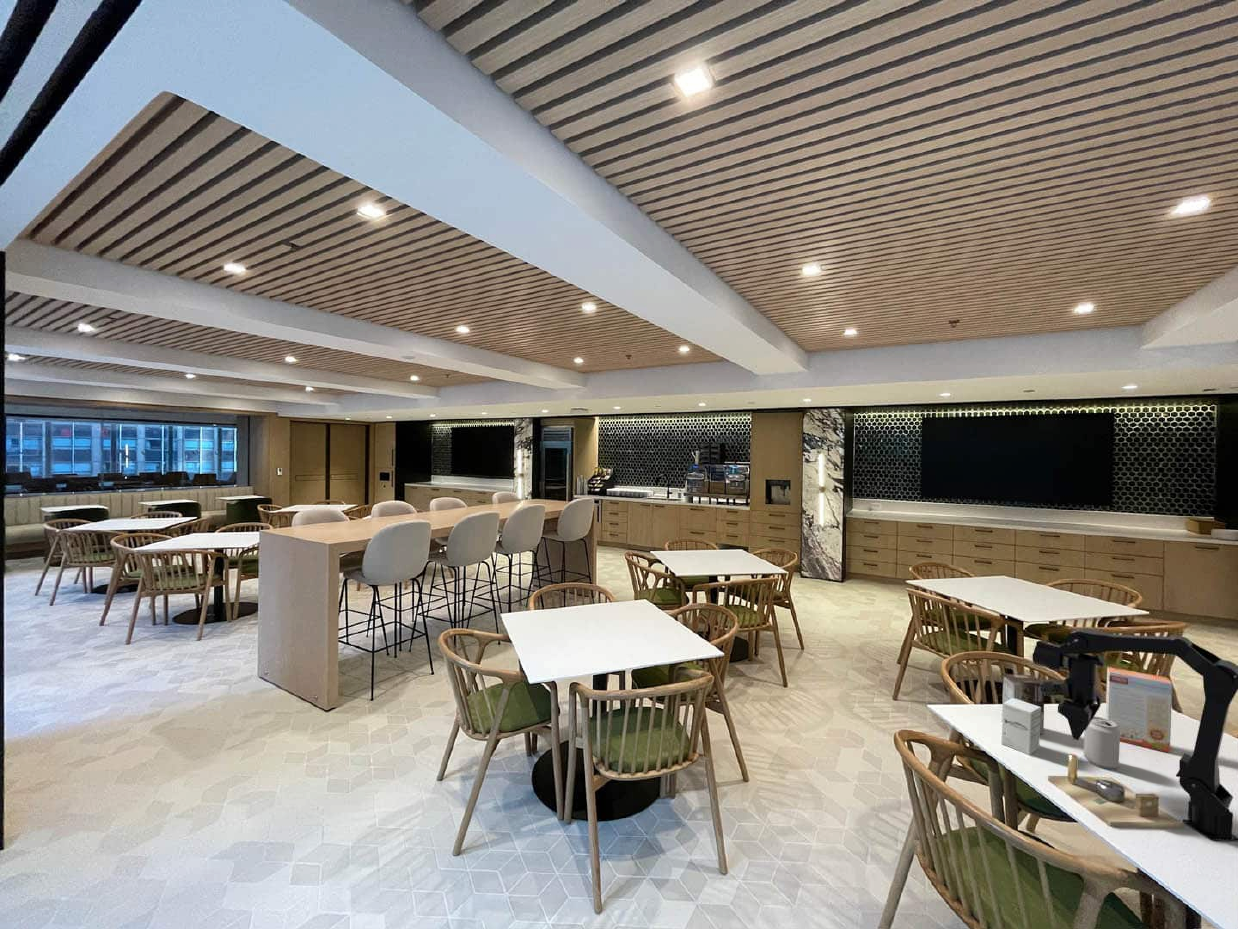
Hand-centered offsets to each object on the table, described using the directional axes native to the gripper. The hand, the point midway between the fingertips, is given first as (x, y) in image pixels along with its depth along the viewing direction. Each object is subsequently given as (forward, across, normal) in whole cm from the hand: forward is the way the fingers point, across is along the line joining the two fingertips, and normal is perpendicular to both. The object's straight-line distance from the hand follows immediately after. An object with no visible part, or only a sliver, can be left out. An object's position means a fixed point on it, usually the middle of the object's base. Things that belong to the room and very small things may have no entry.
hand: (1079, 734), depth 145 cm
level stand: (+12, +6, +8) cm, 16 cm away
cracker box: (+12, -40, +7) cm, 43 cm away
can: (+12, -16, +2) cm, 20 cm away
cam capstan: (+10, +6, +5) cm, 13 cm away
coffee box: (+12, -22, -18) cm, 30 cm away
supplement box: (+12, -8, -15) cm, 20 cm away
